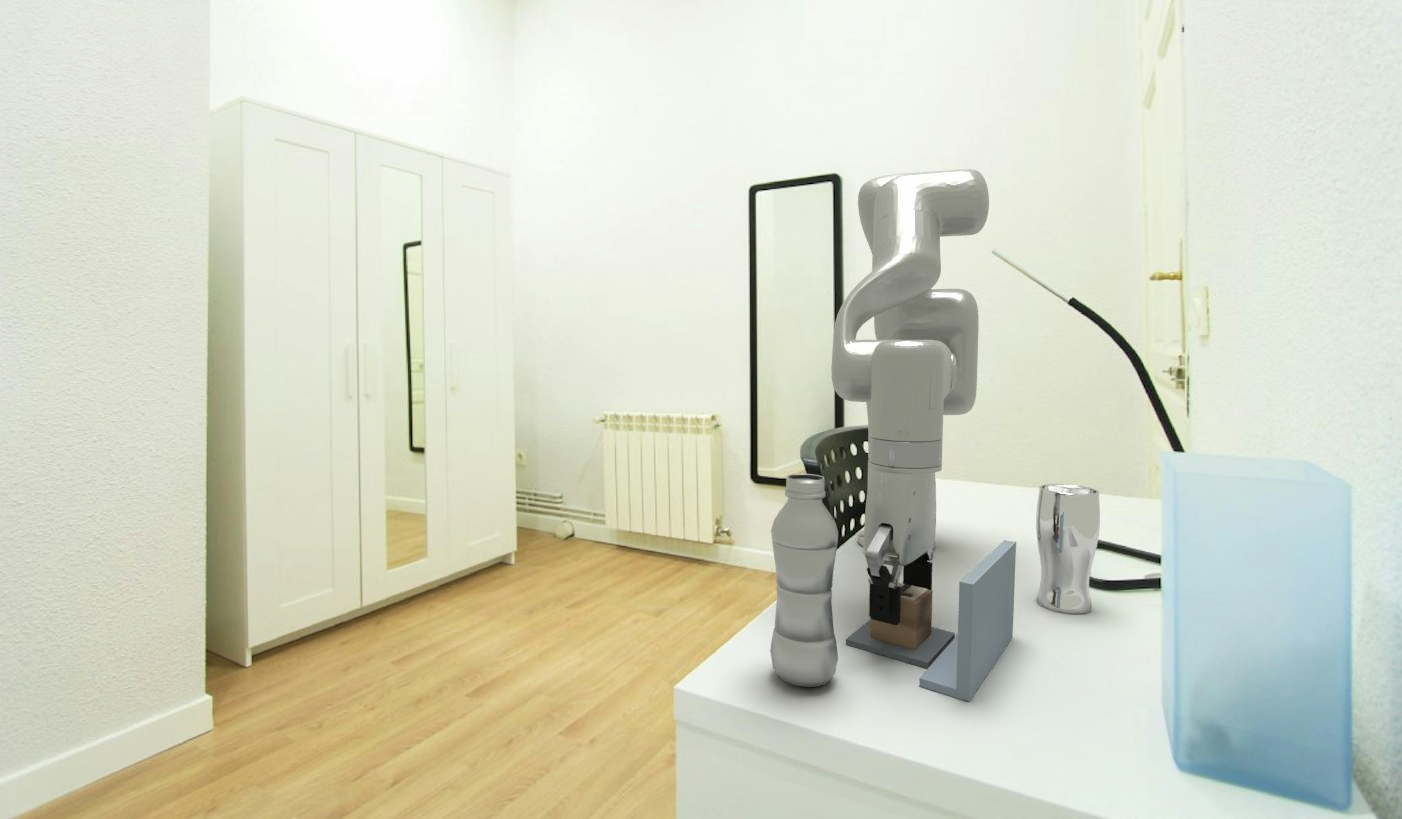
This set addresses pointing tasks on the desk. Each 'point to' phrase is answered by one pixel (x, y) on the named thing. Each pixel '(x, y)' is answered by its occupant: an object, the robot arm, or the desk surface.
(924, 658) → the mat
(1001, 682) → the desk surface
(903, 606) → the letter cube
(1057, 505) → the beer glass
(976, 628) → the screen
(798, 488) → the plastic bottle
